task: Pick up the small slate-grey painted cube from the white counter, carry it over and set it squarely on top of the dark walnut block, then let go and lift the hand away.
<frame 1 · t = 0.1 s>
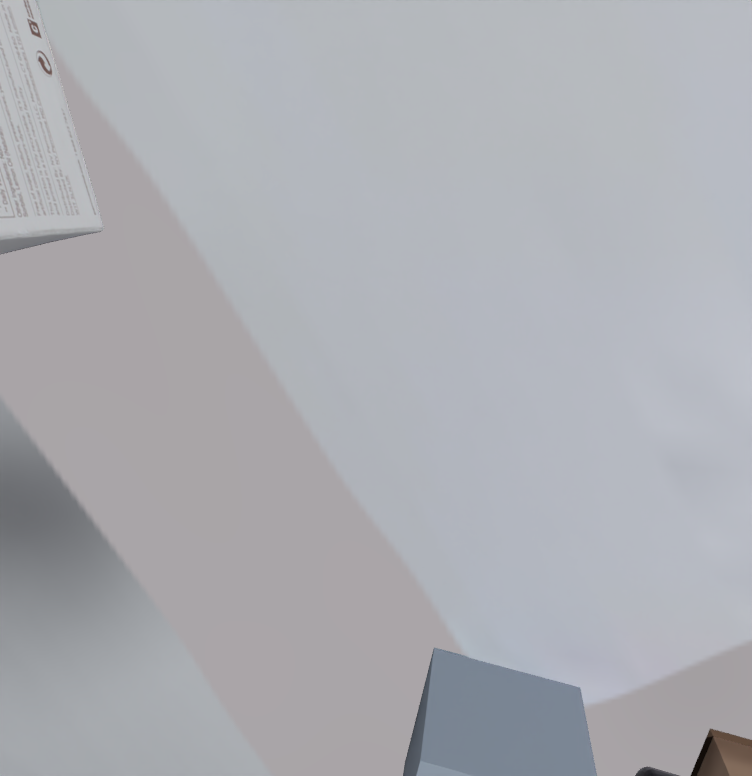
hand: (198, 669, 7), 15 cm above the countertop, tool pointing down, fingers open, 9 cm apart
slate cube: (489, 725, 24), on the countertop
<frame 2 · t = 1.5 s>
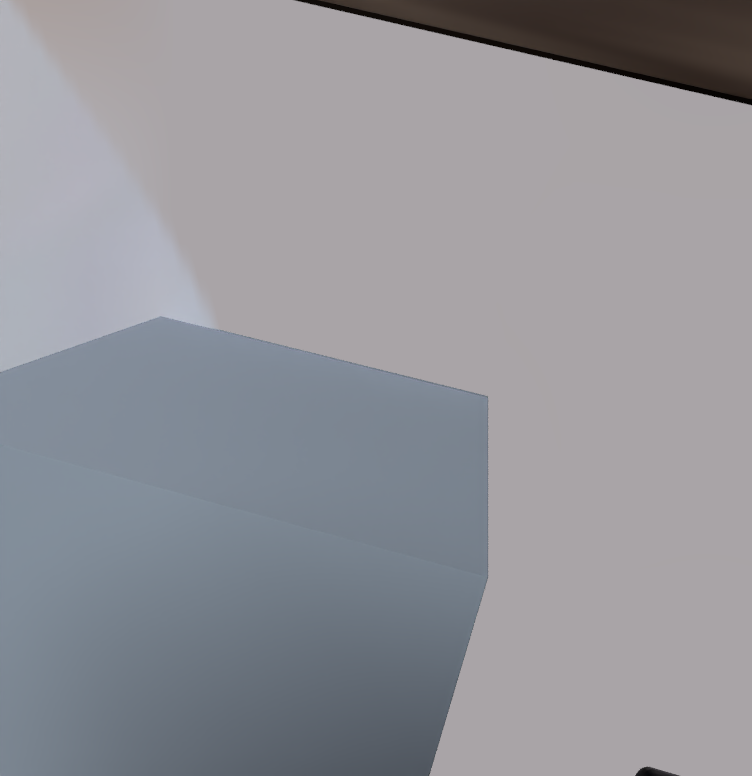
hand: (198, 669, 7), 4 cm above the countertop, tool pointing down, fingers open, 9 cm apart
slate cube: (292, 504, 11), on the countertop
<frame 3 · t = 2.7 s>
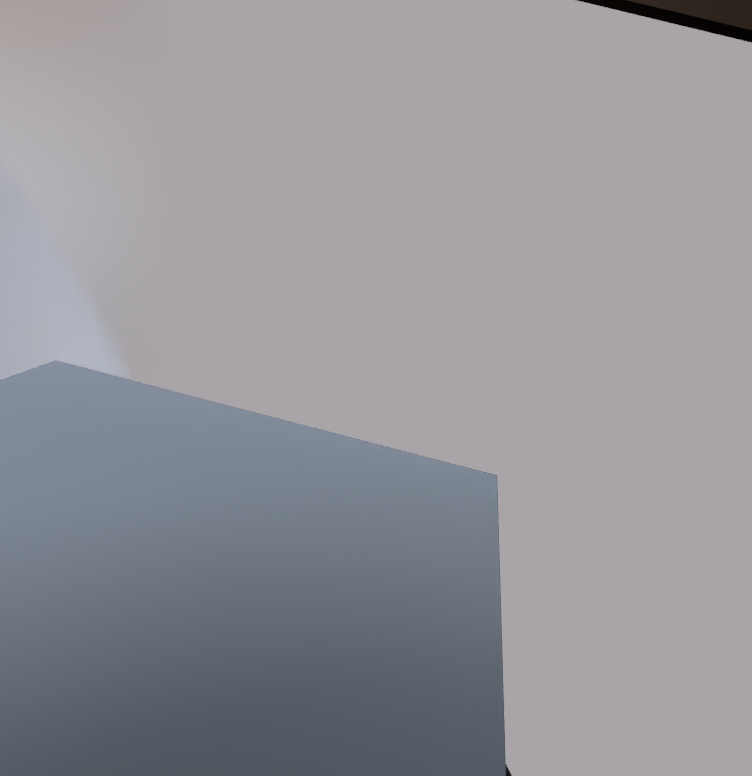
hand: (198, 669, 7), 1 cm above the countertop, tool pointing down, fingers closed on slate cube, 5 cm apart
slate cube: (234, 611, 8), on the countertop, touching gripper
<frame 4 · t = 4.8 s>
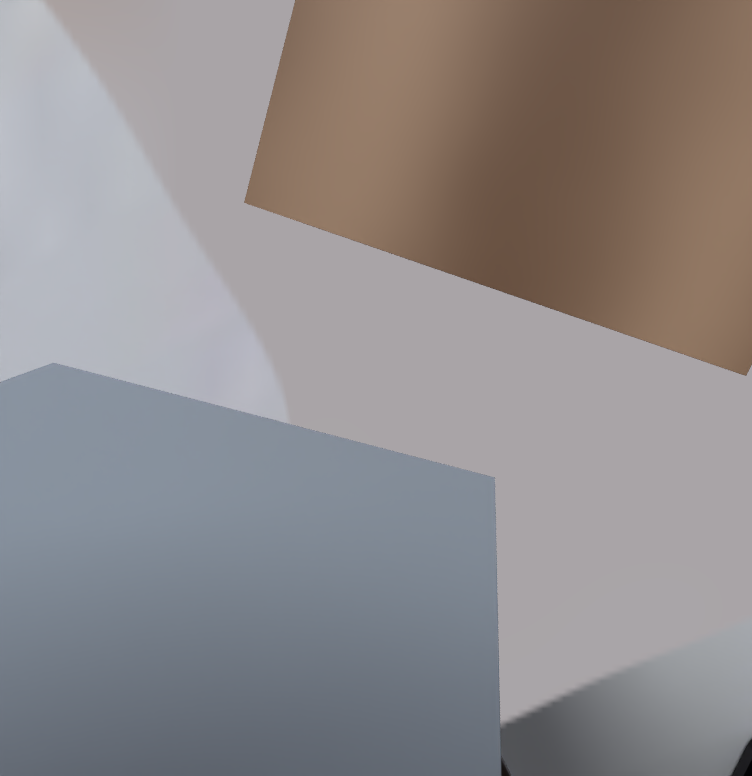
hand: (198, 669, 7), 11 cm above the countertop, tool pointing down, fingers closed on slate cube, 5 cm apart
walnut block: (567, 54, 15), on the countertop
slate cube: (232, 613, 8), point 10 cm above the countertop, touching gripper
when the fingers open (6 cm above the countertop, at t = 7.1 s): slate cube drops 2 cm, point 4 cm above the countertop.
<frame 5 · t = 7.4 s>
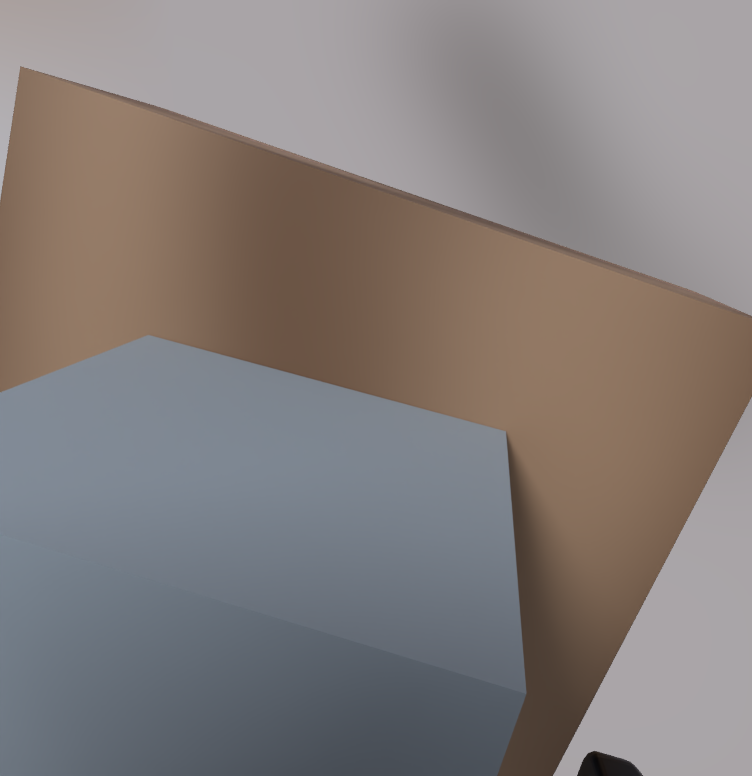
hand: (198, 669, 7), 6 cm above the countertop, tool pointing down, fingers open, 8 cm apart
walnut block: (338, 443, 14), on the countertop
slate cube: (288, 543, 10), point 4 cm above the countertop
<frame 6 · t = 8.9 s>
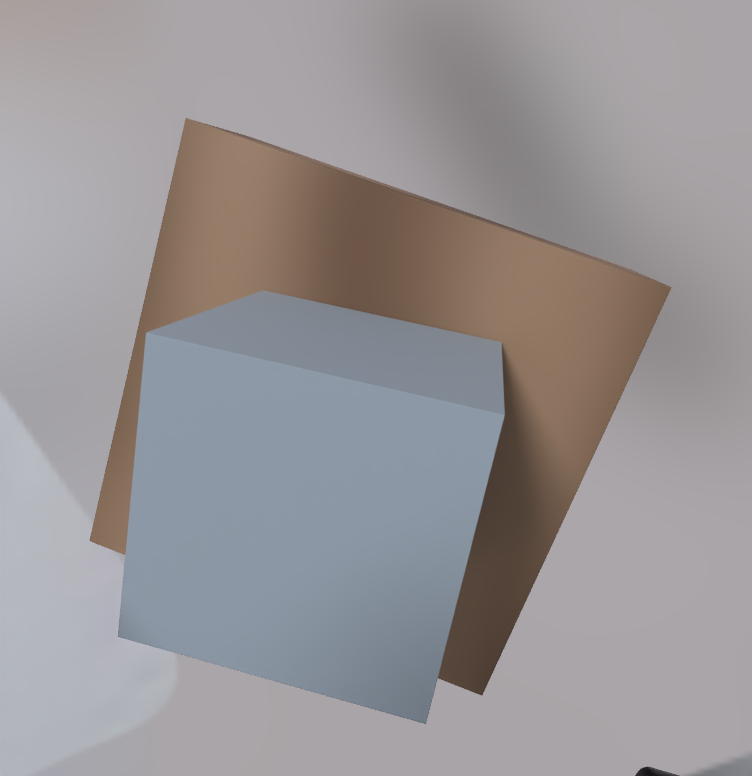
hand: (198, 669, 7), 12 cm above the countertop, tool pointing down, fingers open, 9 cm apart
walnut block: (374, 383, 19), on the countertop
slate cube: (358, 429, 15), point 4 cm above the countertop
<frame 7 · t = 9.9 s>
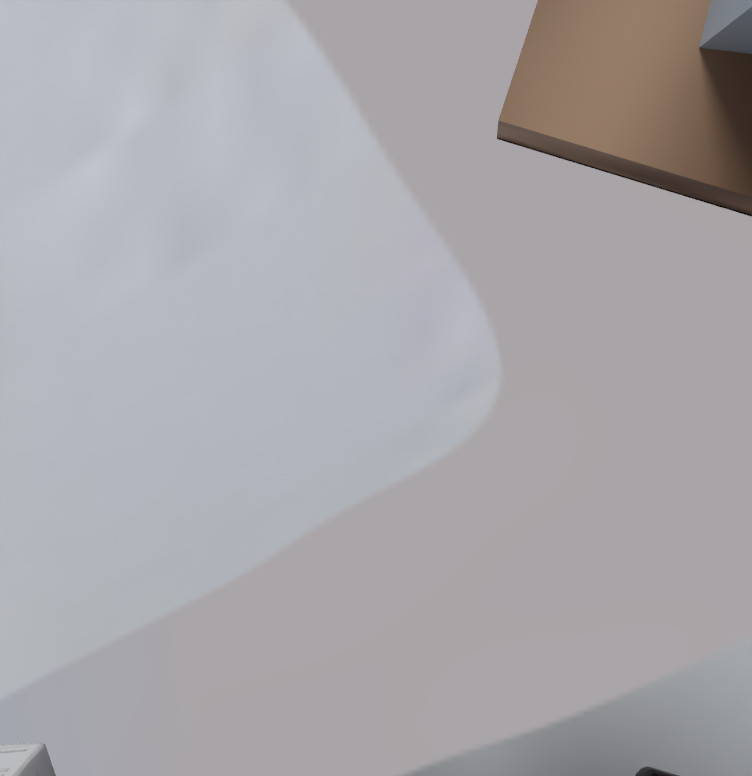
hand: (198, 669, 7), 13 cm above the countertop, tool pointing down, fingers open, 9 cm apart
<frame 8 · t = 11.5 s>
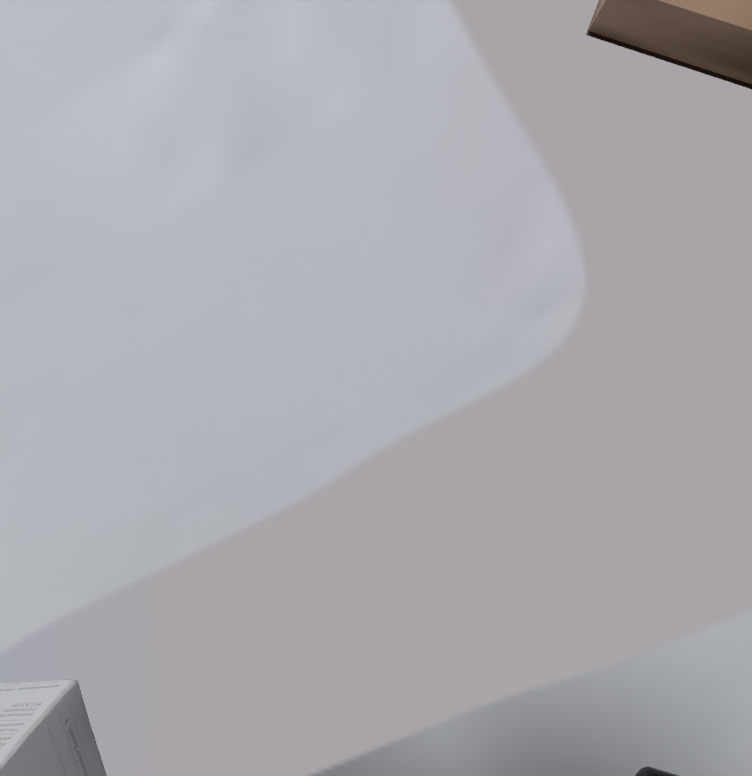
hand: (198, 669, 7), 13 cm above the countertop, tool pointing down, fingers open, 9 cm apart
supplement box: (27, 757, 26), on the countertop
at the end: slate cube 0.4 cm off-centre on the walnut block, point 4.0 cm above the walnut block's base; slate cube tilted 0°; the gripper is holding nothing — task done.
